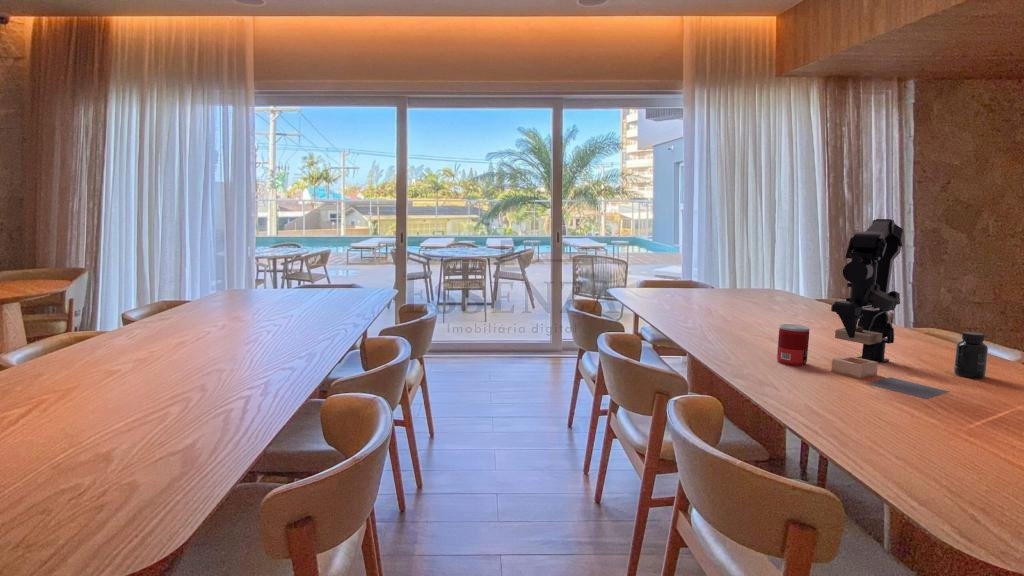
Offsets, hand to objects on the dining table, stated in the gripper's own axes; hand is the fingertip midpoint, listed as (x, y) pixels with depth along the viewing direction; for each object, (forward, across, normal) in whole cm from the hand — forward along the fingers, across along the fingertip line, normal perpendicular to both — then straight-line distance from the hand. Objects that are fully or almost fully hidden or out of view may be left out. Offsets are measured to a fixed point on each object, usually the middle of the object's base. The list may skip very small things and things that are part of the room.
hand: (858, 336), depth 158 cm
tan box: (+11, 0, 0) cm, 11 cm away
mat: (+11, -1, -14) cm, 18 cm away
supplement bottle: (+11, +28, -16) cm, 34 cm away
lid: (+1, 0, 0) cm, 1 cm away
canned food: (+11, -4, +16) cm, 20 cm away
